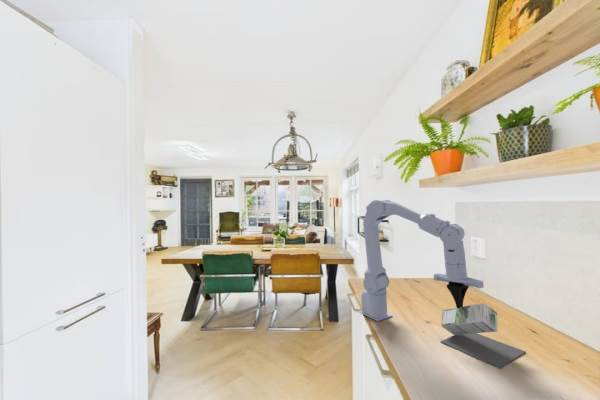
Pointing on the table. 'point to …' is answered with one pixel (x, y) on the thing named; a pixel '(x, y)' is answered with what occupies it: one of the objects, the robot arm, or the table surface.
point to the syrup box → (470, 319)
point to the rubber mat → (484, 348)
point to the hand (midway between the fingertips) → (459, 307)
